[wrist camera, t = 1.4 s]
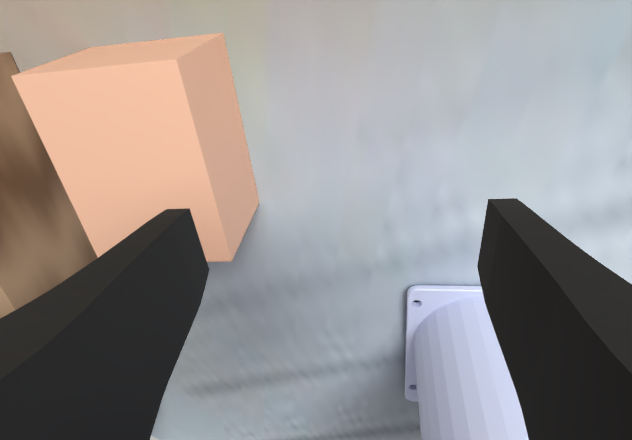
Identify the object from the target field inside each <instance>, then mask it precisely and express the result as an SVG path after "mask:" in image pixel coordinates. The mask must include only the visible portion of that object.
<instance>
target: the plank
mask: <svg viewBox="0 0 632 440" xmlns="http://www.w3.org/2000/svg"><path fill="white" fill-rule="evenodd" d="M18 73H19V71H18V69H17V66H16V64H15V62H14V60H13V57H12V55H11V53H10V52H6V53H0V318H2V317H4V316H6V315H8V314H9V313H11V312H13V311H15V310H17V309H18V308H20V307H22V306H24V305H25V304H27V303H29V302H30V301H32V300H34V299H36V298H37V297H39V296H41V295H42V294H44V293H46V292H47V291H49V290H51V289H52V288H54V287H55V286H57V285H58V284H60V283H62V282H63V281H65V280H66V279H67V278H69V277H70V276H72V275H73V274H75V273H76V272H78V271H79V270H81V269H82V268H84V267H85V266H87V265H88V264H90V263H91V262H93V261H94V260H95V259H97V258H98V257H97V255H96V253H95V251H94V249H93V247H92V245H91V243H90V241H89V238H88V236H87V234H86V232H85V230H84V228H83V226H82V224H81V222H80V220H79V218H78V215H77V213H76V211H75V209H74V207H73V205H72V203H71V201H70V199H69V197H68V195H67V192H66V190H65V188H64V186H63V184H62V182H61V180H60V178H59V176H58V174H57V171H56V169H55V167H54V165H53V163H52V161H51V159H50V157H49V155H48V153H47V151H46V148H45V146H44V144H43V142H42V140H41V138H40V136H39V134H38V132H37V130H36V128H35V125H34V123H33V121H32V119H31V117H30V115H29V113H28V111H27V109H26V107H25V104H24V102H23V100H22V98H21V96H20V94H19V92H18V90H17V88H16V86H15V84H14V81H13V79H12V77H11V76H12V75H15V74H18Z"/></svg>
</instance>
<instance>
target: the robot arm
mask: <svg viewBox="0 0 632 440" xmlns="http://www.w3.org/2000/svg"><path fill="white" fill-rule="evenodd" d="M478 271H479V276H480V282H481V286H430V285H416V286H412V287H410V288H409V289H408V291H407V317H406V356H405V398H406V399H407V400H408V401H411V402H418V405H419V417H420V429H421V440H632V284H630V283H629V282H627V281H626V280H624V279H623V278H621V277H620V276H618V275H617V274H615V273H614V272H612V271H611V270H609V269H608V268H606V267H605V266H604V265H602V264H601V263H599V262H598V261H597V260H595V259H594V258H592V257H591V256H590V255H588V254H587V253H586V252H584V251H583V250H582V249H580V248H579V247H578V246H576V245H575V244H574V243H572V242H571V241H570V240H568V239H567V238H566V237H565V236H563V235H562V234H561V233H559V232H558V231H557V230H556V229H554V228H553V227H552V226H551V225H549V224H548V223H547V222H546V221H544V220H543V219H542V218H541V217H539V216H538V215H537V214H536V213H534V212H533V211H532V210H531V209H529V208H528V207H527V206H526V205H524V204H523V203H522V202H520V201H519V200H518V199H488V205H487V211H486V217H485V223H484V229H483V236H482V242H481V248H480V254H479V260H478ZM208 272H209V267H208V264H207V261H206V258H205V255H204V252H203V249H202V246H201V242H200V239H199V236H198V233H197V230H196V227H195V224H194V221H193V218H192V215H191V211H190V208H188V209H166V210H164V211H163V212H161V213H159V214H158V215H156V216H155V217H154V218H152V219H151V220H149V221H148V222H146V223H145V224H144V225H142V226H141V227H139V228H138V229H137V230H135V231H134V232H133V233H131V234H130V235H129V236H127V237H126V238H125V239H123V240H122V241H120V242H119V243H118V244H116V245H115V246H114V247H112V248H111V249H109V250H108V251H107V252H105V253H104V254H103V255H101V256H100V257H98V258H97V259H95V260H94V261H93V262H91V263H90V264H88V265H87V266H85V267H84V268H82V269H81V270H79V271H78V272H76V273H75V274H73V275H72V276H70V277H69V278H67V279H66V280H65V281H63V282H62V283H60V284H58V285H57V286H55V287H54V288H52V289H51V290H49V291H47V292H46V293H44V294H42V295H41V296H39V297H37V298H36V299H34V300H32V301H30V302H29V303H27V304H25V305H24V306H22V307H20V308H18V309H17V310H15V311H13V312H11V313H9V314H8V315H6V316H4V317H2V318H0V440H150V436H151V433H152V430H153V426H154V423H155V420H156V416H157V413H158V410H159V406H160V403H161V400H162V397H163V394H164V392H165V389H166V386H167V383H168V381H169V378H170V376H171V374H172V371H173V369H174V366H175V364H176V362H177V359H178V357H179V355H180V352H181V350H182V347H183V345H184V343H185V340H186V338H187V336H188V333H189V331H190V328H191V326H192V323H193V321H194V318H195V316H196V314H197V311H198V309H199V306H200V303H201V300H202V296H203V292H204V289H205V285H206V280H207V276H208ZM415 300H419V302H413V301H415Z"/></svg>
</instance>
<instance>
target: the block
mask: <svg viewBox="0 0 632 440" xmlns="http://www.w3.org/2000/svg"><path fill="white" fill-rule="evenodd" d="M11 77H12V79H13V81H14V84H15V86H16V88H17V90H18V92H19V94H20V96H21V98H22V100H23V102H24V104H25V107H26V109H27V111H28V113H29V115H30V117H31V119H32V121H33V123H34V125H35V128H36V130H37V132H38V134H39V136H40V138H41V140H42V142H43V144H44V146H45V148H46V151H47V153H48V155H49V157H50V159H51V161H52V163H53V165H54V167H55V169H56V171H57V174H58V176H59V178H60V180H61V182H62V184H63V186H64V188H65V190H66V192H67V195H68V197H69V199H70V201H71V203H72V205H73V207H74V209H75V211H76V213H77V215H78V218H79V220H80V222H81V224H82V226H83V228H84V230H85V232H86V234H87V236H88V238H89V241H90V243H91V245H92V247H93V249H94V251H95V253H96V255H97V257H100V256H101V255H103V254H104V253H105V252H107V251H108V250H109V249H111V248H112V247H114V246H115V245H116V244H118V243H119V242H120V241H122V240H123V239H125V238H126V237H127V236H129V235H130V234H131V233H133V232H134V231H135V230H137V229H138V228H139V227H141V226H142V225H144V224H145V223H146V222H148V221H149V220H151V219H152V218H154V217H155V216H156V215H158V214H159V213H161V212H163V211H164V210H166V209H188V208H190V211H191V215H192V218H193V221H194V224H195V227H196V230H197V233H198V236H199V239H200V242H201V246H202V249H203V252H204V255H205V258H206V261H207V262H218V261H232V260H233V258H234V256H235V254H236V251H237V249H238V247H239V245H240V243H241V241H242V239H243V237H244V234H245V232H246V230H247V228H248V226H249V224H250V222H251V219H252V217H253V215H254V213H255V211H256V209H257V207H258V204H259V198H258V193H257V189H256V184H255V179H254V175H253V170H252V165H251V161H250V156H249V151H248V147H247V142H246V137H245V133H244V128H243V123H242V119H241V114H240V109H239V105H238V100H237V95H236V91H235V86H234V81H233V76H232V72H231V67H230V62H229V58H228V53H227V48H226V44H225V39H224V34H223V33H216V34H207V35H198V36H189V37H180V38H171V39H162V40H153V41H144V42H135V43H126V44H117V45H108V46H99V47H91V48H88V49H85V50H82V51H80V52H77V53H74V54H71V55H68V56H66V57H63V58H60V59H57V60H54V61H52V62H49V63H46V64H43V65H40V66H38V67H35V68H32V69H29V70H26V71H24V72H21V73H18V74H15V75H12V76H11Z"/></svg>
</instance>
